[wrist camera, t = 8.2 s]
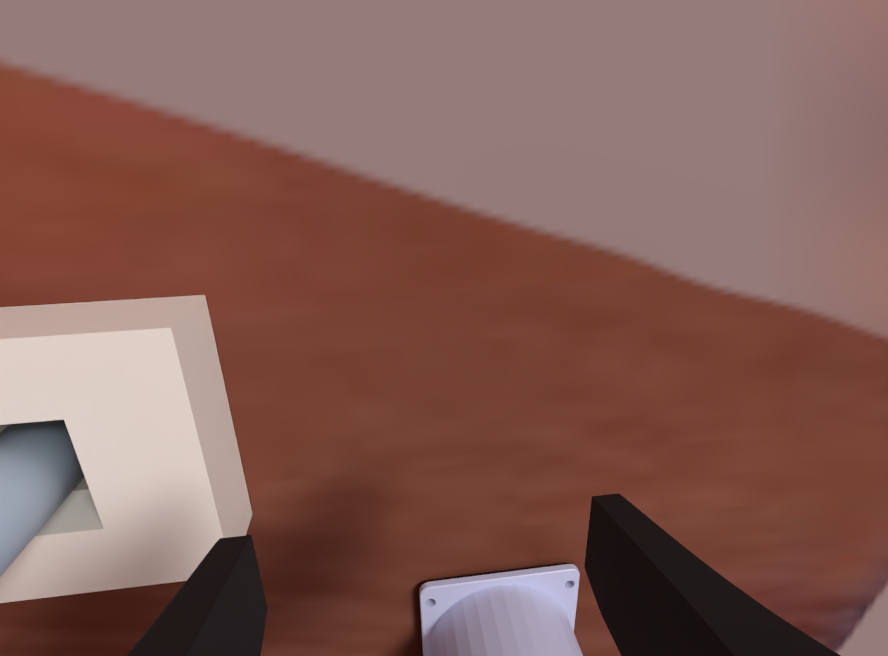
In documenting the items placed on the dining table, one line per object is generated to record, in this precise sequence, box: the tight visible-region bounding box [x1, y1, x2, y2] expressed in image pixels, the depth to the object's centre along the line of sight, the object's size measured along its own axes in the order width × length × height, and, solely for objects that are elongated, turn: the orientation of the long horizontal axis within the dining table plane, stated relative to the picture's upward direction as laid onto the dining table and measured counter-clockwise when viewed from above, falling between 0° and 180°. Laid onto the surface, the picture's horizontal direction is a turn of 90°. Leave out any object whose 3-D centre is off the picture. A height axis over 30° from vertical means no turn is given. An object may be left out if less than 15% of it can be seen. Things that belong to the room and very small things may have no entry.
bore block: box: [0, 295, 252, 603], centre depth 17 cm, size 10×12×3 cm
